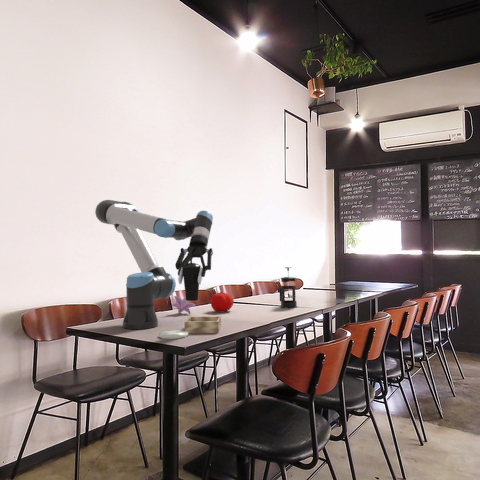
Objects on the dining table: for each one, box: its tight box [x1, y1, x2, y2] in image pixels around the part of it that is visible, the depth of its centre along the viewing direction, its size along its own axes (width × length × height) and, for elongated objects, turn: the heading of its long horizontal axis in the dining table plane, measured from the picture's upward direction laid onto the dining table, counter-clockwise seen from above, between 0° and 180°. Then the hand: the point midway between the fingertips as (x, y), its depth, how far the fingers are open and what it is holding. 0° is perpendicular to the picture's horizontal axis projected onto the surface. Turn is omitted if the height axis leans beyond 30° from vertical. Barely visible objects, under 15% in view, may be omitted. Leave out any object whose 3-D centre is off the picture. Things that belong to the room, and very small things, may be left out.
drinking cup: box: [182, 250, 202, 302], centre depth 166 cm, size 8×8×20 cm
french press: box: [279, 266, 298, 309], centre depth 240 cm, size 12×9×23 cm
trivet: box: [158, 329, 189, 340], centre depth 160 cm, size 11×11×1 cm
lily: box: [171, 295, 197, 316], centre depth 216 cm, size 12×12×10 cm
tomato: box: [210, 291, 235, 313], centre depth 224 cm, size 13×12×11 cm
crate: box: [184, 315, 222, 334], centre depth 172 cm, size 14×14×4 cm
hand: (189, 282), depth 163 cm, fingers closed on drinking cup, 7 cm apart
